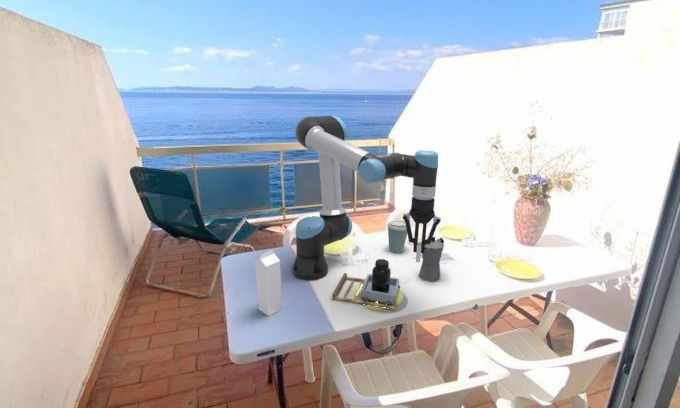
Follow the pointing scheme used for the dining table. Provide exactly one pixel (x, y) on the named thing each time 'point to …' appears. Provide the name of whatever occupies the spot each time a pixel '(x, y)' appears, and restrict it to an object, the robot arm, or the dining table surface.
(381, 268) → the supplement bottle
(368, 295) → the shallow square tray
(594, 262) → the dining table surface
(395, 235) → the disposable coffee cup
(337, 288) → the wooden rack
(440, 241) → the coffeepot
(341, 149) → the robot arm
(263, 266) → the milk
